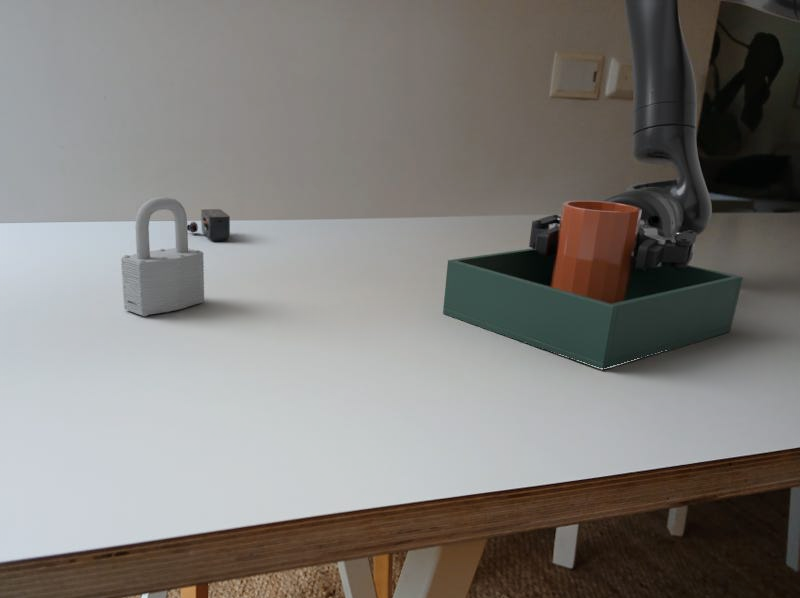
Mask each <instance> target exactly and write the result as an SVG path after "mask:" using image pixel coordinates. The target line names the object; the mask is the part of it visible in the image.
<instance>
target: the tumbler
mask: <svg viewBox="0 0 800 598" xmlns="http://www.w3.org/2000/svg"><path fill="white" fill-rule="evenodd" d="M641 212H642V209H640V208H639V207H635V206H631V205H626V204H620V203H612V202H603V200H602V201H600V200H599V201H598V200H569V201H568V200H567V201H565V202H562V207H561V214H560V216H561V220H560V227H559V234H558V241H557V247H556V254H555V261H554V268H553V275H552V282H551V287H553V288H556V289H560V290H564V291H567V292H571V293H574V294H578V295H582V296H585V297H589V298H592V299H596V300H599V301H603V302H607V303H610V304H613V303H618V302H622V301H625V300H626V294H627V289H628V283H629V278H630V272H631V267H632V261H633V256H634V251H635V245H636V240H637V234H638V229H639V223H640V218H641Z"/></svg>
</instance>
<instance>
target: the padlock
mask: <svg viewBox="0 0 800 598" xmlns="http://www.w3.org/2000/svg"><path fill="white" fill-rule="evenodd" d="M162 210H166V211H170V212H171V213H172V216H173V220H174V233H175V234H174V238H175V239H174V241H175V247H174V248H173V247H172V248H165V249H164V248H160V249H155V250H151V249H150V220H151V217H152V215H153V214H154V213H155V212H158V211H162ZM187 226H188V217H187V212H186V209H185V207H184V205H183V204H182V202H180V201H178V200H177V199H175V198H173V197H168V196H157V197H153V198H151V199H149V200H147V201H145V202H144V203H143V204H142V205H141V206H140V207H139V209H138V210H137V213H136V216H135V228H134V229H135V246H136V253H134V254H129V255H128V254H126V255H124V256H122V257H121V259H120V263H121V265H120V266H121V277H122V278H121V280H122V295H123V309H124V310H126V311H128V312H132V313H134V314H136V315H140V316H142V317H147V316H148V315H154V314H155V315H156V314H163V313H169V312H174V311H178V310H183V309H186V308H188V307H191V306H194V305H198V304H199V305H201V304H202V303H204V302H205V272H204V271H205V270H204V268H205V267H204V266H205V265H204V262H205V261H204V252H203V251H201V250H199V249H197V250H196V249H193V248H190V247H189V234H188V233H189V231H188V230H187Z"/></svg>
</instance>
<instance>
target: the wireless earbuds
mask: <svg viewBox="0 0 800 598" xmlns="http://www.w3.org/2000/svg"><path fill="white" fill-rule="evenodd" d="M200 220H201V221H200V224H201V231H202V234H203V235H205V237H207V238H208V239H209V240H210V241H211V242H227V241H229V240H230V238H231V226H230V225H231V217H230V215H229V214H228V213H226V212H225V211H224V210H222V209H219V208H208V209H207V208H206V209H205V208H204V209H201V210H200ZM187 230H188V232H190V233H197V232H198V230H199V225H198V223H197V222H195V221H191V222H190V224H187Z"/></svg>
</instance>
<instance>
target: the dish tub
mask: <svg viewBox="0 0 800 598" xmlns="http://www.w3.org/2000/svg"><path fill="white" fill-rule="evenodd" d="M555 254H556V253H555ZM555 254H553V255H551V256H549V257H547V258H546V257H540V256H539V252H538V251H535V249H533V248H531V247H530V248H524V249H517V250H512V251H511V250H509V251H504V252H497V253H490V254H483V255H482V254H481V255H475V256H474V255H473V256H467V257H461V258H453V259H447V267H446V277H445V278H446V279H445V287H444V299H443V310H442V314H443V315H446V316H449V317H452V318H455V319H457V320H460V321H462V320H463V322H466V323H468V324H471V325H474V326H476V325H477V326H476V327H480V328H483V329H485V330H487V329H488V330H489V331H490V332H493V333H496V334H499V335H501V334H502V336H504V335H505V336H504V337H507V336H508V337H507V338H509V339H512V338H513V339H512V340H515V339H516V340H515V341H518V340H519V341H518V342H521V341H523V342H522V343H524V342H526V343H528V344H527V345H529V344H531V345H530V346H532V345H534V346H533V347H535V346H536V347H535V348H537V347H539V348H538V349H540V348H543V349H546V350H548V351H547V352H549V351H552V352H555V353H557V354H561V355H564V356H567V357H569V358H573V359H575V360H579V361H582V362H585V363H587V364H590V365H593V366H596V367H599V368H603V369H604V368H607V367H610V366H613V365H617V364H621V363H624V362H627V361H631V360H634V359H637V358H641V357H645V356H647V355H651V354H655V353H658V352H661V351H665V350H669V349H672V350H674V349H673V348H675V349H678V348H677V347H679V348H681V346H682V347H685V346H688V345H691V344H690V343H692V344H694V342H695V343H697V341H698V342H701V341H705V340H708V339H711V338H714V336H715V337H717V336H721V335H724V334H727V333H731V330H732V326H733V322H734V317H735V313H736V310H737V305H738V300H739V296H740V293H741V292H740V291H741V289H742V284H743V279H744V276H740V275H736V274H733V273H732V274H731V273H726V272H722V271H718V270H713V269H709V268H703V267H699V266H694V265H690V264H688V265H687V266H686V268H685V269H674V268H673V267H671V262H663V265H662V267H657V268H655V267H653V268H648V269H647V270H646V271H644V272H641V271H635V264H633V263H632V267H631V272H630V278H629V283H628V289H627V294H626V300H625V301H622V302H618V303H613V304H610V303H607V302H603V301H599V300H596V299H592V298H589V297H585V296H582V295H578V294H574V293H571V292H567V291H564V290H560V289H556V288H553V287H551V282H552V275H553V268H554V261H555ZM704 339H705V340H704ZM700 340H701V341H700ZM526 343H525V344H526ZM687 344H688V345H687ZM684 345H685V346H684ZM543 349H542V350H543ZM546 350H545V351H546ZM669 351H670V350H669ZM665 352H666V351H665ZM557 354H556V355H557Z"/></svg>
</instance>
